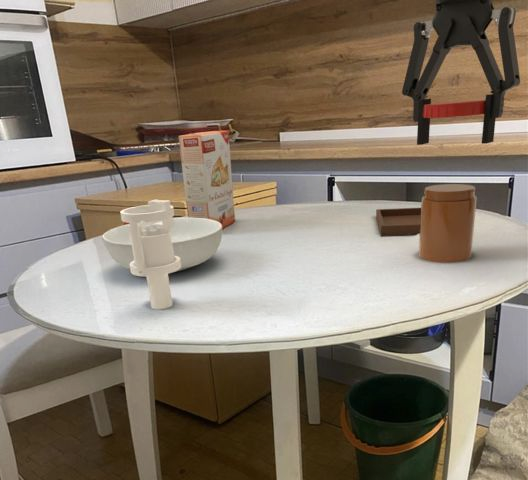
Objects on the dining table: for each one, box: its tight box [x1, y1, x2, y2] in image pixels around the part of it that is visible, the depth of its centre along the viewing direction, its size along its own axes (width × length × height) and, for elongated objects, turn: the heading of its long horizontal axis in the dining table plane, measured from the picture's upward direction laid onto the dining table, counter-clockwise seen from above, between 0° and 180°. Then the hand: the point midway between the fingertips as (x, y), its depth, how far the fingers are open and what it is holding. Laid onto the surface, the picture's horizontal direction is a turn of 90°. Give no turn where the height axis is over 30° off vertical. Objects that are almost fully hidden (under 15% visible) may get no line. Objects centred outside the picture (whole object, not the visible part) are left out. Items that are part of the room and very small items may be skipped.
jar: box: [418, 183, 478, 264], centre depth 87 cm, size 8×8×12 cm
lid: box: [423, 99, 485, 119], centre depth 80 cm, size 10×10×2 cm
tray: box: [375, 207, 421, 237], centre depth 113 cm, size 18×14×2 cm
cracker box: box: [178, 130, 236, 229], centre depth 121 cm, size 14×6×21 cm, turn 160°
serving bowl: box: [102, 216, 223, 273], centre depth 95 cm, size 21×21×7 cm
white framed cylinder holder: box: [119, 199, 181, 310], centre depth 74 cm, size 7×7×15 cm
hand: (453, 143), depth 82 cm, fingers closed on lid, 9 cm apart
